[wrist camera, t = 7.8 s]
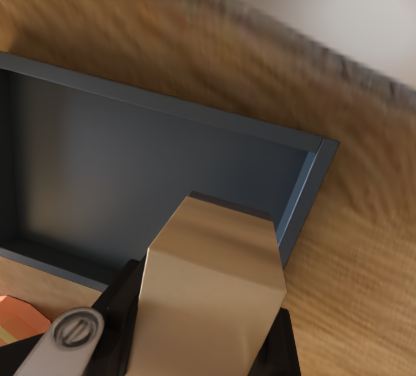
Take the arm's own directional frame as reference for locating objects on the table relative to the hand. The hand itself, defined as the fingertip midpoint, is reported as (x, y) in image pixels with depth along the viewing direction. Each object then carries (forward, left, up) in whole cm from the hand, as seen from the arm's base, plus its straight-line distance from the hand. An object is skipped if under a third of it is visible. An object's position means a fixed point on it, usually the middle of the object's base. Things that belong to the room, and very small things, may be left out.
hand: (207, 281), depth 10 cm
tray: (+6, 0, -6) cm, 8 cm away
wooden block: (0, 0, -1) cm, 1 cm away
